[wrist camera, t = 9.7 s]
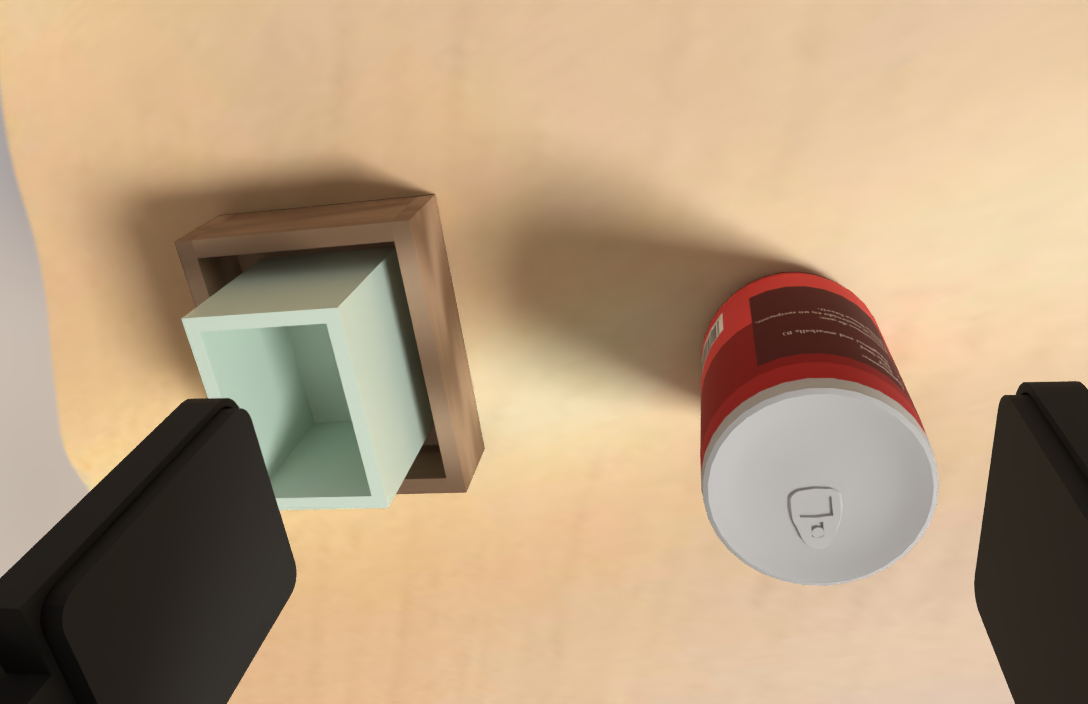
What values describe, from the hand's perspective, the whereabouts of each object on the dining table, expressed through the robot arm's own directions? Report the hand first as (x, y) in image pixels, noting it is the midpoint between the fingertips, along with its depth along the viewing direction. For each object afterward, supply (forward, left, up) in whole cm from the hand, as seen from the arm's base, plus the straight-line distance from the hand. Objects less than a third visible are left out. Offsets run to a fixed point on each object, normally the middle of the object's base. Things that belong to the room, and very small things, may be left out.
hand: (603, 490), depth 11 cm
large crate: (+9, -16, -27) cm, 32 cm away
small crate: (+9, -16, -26) cm, 32 cm away
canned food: (+11, +4, -27) cm, 29 cm away
